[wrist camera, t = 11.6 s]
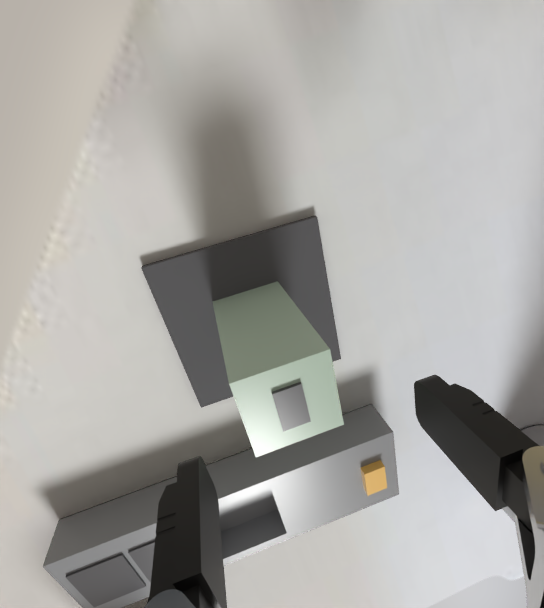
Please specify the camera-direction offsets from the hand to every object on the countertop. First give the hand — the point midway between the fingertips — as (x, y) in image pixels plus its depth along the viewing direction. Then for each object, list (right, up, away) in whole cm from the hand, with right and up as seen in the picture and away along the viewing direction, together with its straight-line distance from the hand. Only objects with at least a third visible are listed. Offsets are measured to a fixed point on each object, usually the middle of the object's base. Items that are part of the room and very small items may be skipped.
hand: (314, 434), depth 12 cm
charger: (-3, +4, +9) cm, 10 cm away
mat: (-3, +4, +9) cm, 10 cm away
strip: (-4, -10, +14) cm, 18 cm away
